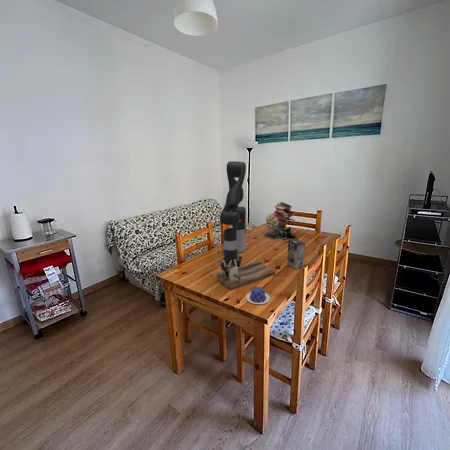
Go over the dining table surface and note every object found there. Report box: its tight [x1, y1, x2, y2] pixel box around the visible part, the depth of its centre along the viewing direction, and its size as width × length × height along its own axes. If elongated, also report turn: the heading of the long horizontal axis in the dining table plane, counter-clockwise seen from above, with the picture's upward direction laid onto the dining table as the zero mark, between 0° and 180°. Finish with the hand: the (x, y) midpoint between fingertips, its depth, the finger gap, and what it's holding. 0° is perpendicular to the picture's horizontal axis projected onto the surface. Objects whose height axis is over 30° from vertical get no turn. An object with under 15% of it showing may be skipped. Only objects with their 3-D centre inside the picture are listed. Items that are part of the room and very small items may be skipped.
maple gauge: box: [223, 264, 241, 281], centre depth 138 cm, size 12×5×7 cm, turn 32°
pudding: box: [245, 286, 271, 305], centre depth 123 cm, size 12×12×5 cm
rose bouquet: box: [264, 201, 299, 241], centre depth 213 cm, size 26×29×30 cm
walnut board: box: [216, 260, 277, 291], centre depth 145 cm, size 14×32×4 cm, turn 122°
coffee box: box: [286, 239, 306, 269], centre depth 157 cm, size 9×6×16 cm
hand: (231, 275), depth 140 cm, fingers closed on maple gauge, 4 cm apart
